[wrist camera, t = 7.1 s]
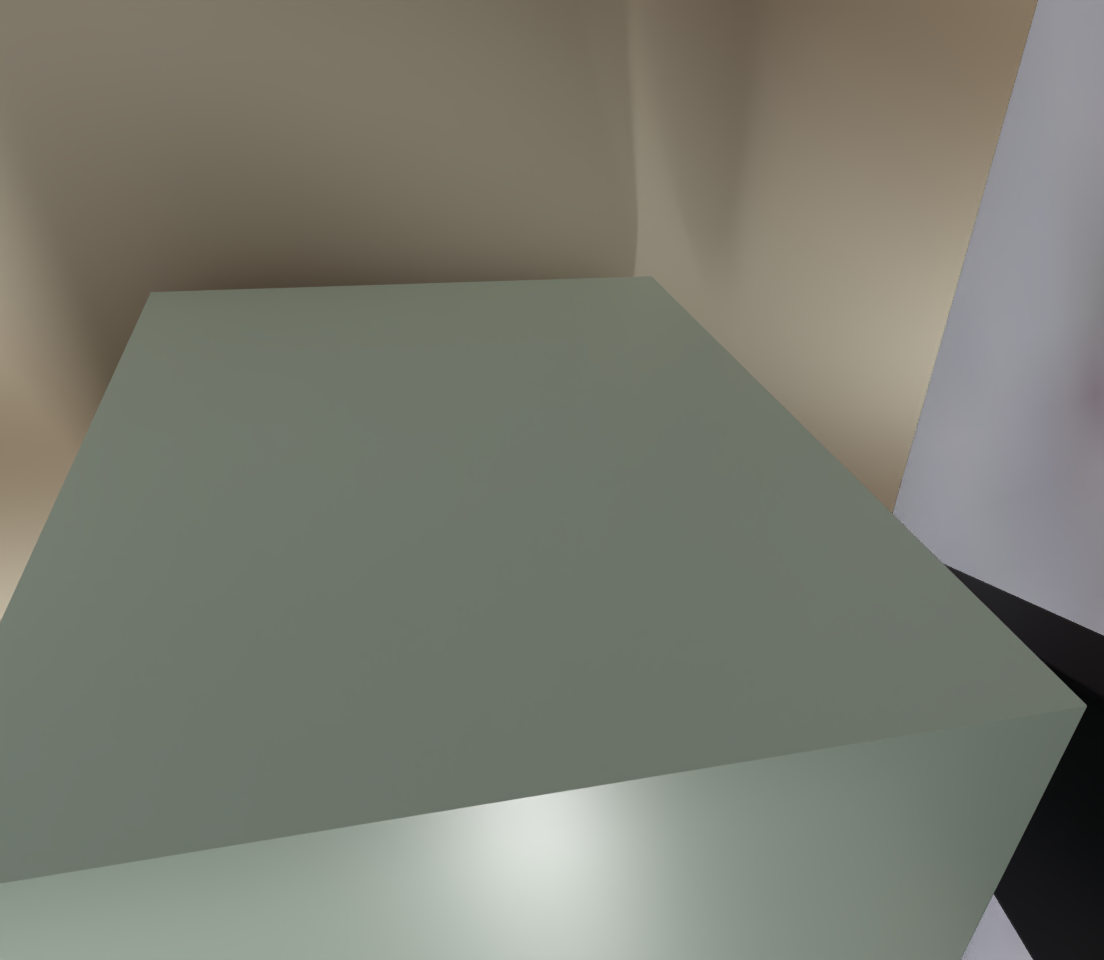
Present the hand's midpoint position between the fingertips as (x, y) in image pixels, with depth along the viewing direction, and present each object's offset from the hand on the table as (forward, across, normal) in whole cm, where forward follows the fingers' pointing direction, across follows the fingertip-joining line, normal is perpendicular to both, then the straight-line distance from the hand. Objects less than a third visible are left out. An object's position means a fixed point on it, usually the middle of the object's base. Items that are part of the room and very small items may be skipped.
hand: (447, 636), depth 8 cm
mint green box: (+2, 0, 0) cm, 3 cm away
